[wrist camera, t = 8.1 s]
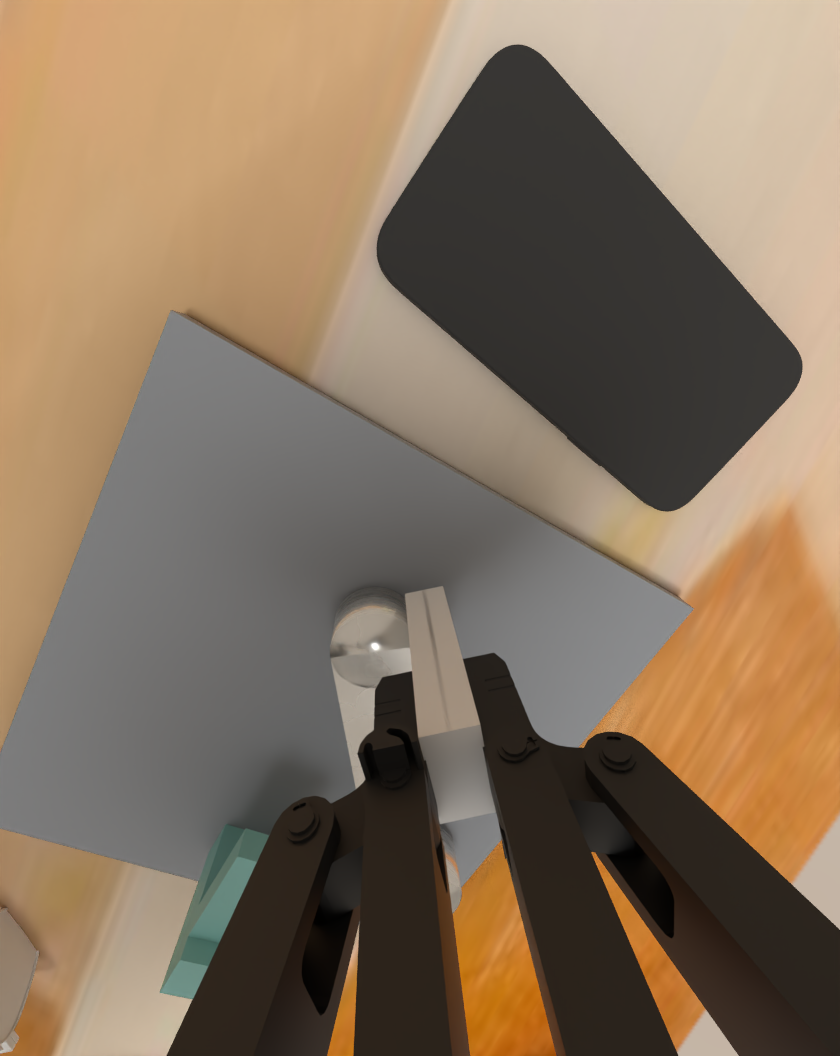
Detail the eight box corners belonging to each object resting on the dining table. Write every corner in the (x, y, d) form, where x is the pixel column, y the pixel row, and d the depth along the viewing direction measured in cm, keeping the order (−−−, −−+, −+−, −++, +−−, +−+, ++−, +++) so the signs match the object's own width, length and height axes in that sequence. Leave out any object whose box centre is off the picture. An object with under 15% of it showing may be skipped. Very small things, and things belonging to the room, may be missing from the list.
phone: (515, 17, 12) (817, 368, 16) (507, 38, 13) (797, 368, 17) (360, 257, 14) (669, 524, 18) (361, 263, 15) (657, 517, 19)
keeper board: (-8, 800, 20) (-158, 969, 14) (184, 313, 14) (59, 277, 9) (416, 918, 25) (427, 1075, 20) (678, 597, 20) (799, 688, 14)
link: (457, 876, 23) (478, 1010, 18) (370, 891, 22) (368, 1030, 18) (427, 579, 17) (446, 660, 12) (310, 594, 17) (283, 682, 12)
